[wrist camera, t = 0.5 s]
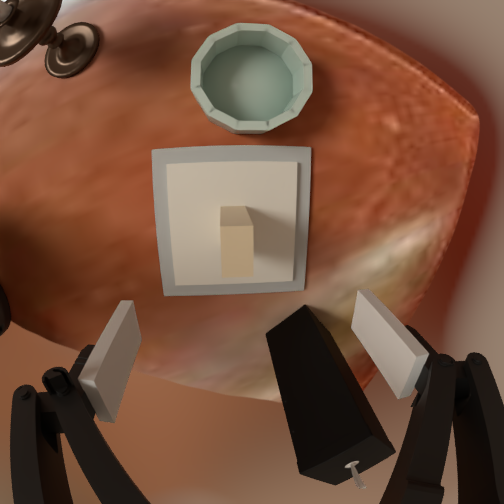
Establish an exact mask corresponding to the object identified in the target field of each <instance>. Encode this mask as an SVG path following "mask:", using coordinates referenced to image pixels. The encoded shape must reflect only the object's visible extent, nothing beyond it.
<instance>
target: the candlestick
mask: <svg viewBox="0 0 504 504" xmlns="http://www.w3.org/2000/svg"><path fill="white" fill-rule="evenodd" d="M61 4H62V0H7V1H6V2H3V1H1V0H0V67H6V66H9V65H12V64H14V63H16V62H18V61H19V60H20V59H22V58H23V57H25V56H26V55H27V54H28V53H29V52H30V51H31V50H32V49H33V48H34V47H35V46H36V45H37V44H38V43H39V44H40V45H42V46H44V45H48V49H47V52H46V55H45V67H46V70H47V71H48V73H49V74H50V75H52V76H54V77H57V78H68V77H71V76H74V75H76V74H78V73H79V72H80V71H82V70H83V69H84V68H85V67H86V66H87V65H88V64H89V63H90V62H91V60H92V59H93V57H94V56H95V54H96V52H97V49H98V46H99V34H98V31H97V30H96V29H95V27H93V26H92V25H91V24H89V23H86V22H79V23H74V24H72V25H69V26H68V27H66V28H64V29H63V30H62V31H60V32H59V33H57V31H56V28H55V27H54V26H52V24H53V22H54V21H55V19H56V17H57V15H58V12H59V10H60V8H61Z"/></svg>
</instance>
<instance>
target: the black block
mask: <svg viewBox="0 0 504 504" xmlns="http://www.w3.org/2000/svg"><path fill="white" fill-rule="evenodd" d="M266 338H267V342H268V346H269V350H270V354H271V358H272V362H273V366H274V370H275V374H276V378H277V382H278V386H279V390H280V394H281V398H282V402H283V406H284V410H285V414H286V418H287V422H288V426H289V430H290V434H291V438H292V442H293V446H294V450H295V454H296V457H297V465H298V469H299V473H300V474H301V475H304V476H307V477H310V478H313V479H316V480H319V481H323V482H326V483H329V484H332V485H338V484H340V483H342V482H344V481H346V480H348V479H350V478H352V477H353V478H354V481H355V484H356V486H357V487H359V488H363V489H366V488H367V487H366V486H365V484H364V483H363V481H362V479H361V478H360V476H359V474H360V473H362V472H363V471H365V470H367V469H369V468H371V467H372V466H374V465H376V464H378V463H379V462H381V461H383V460H384V459H386V458H388V457H389V456H391V455H392V454H394V453H395V452H396V451H395V449H394V447H393V445H392V443H391V442H390V441H389V439H388V437H387V436H386V433H385V432H384V430H383V428H382V426H381V424H380V422H379V420H378V418H377V417H376V415H375V413H374V411H373V409H372V407H371V405H370V404H369V402H368V400H367V398H366V396H365V394H364V393H363V391H362V389H361V387H360V385H359V383H358V382H357V380H356V378H355V376H354V374H353V373H352V371H351V369H350V367H349V365H348V364H347V362H346V360H345V358H344V356H343V355H342V353H341V351H340V349H339V348H338V346H337V344H336V342H335V341H334V339H333V337H332V335H331V334H330V332H329V331H328V330H327V329H326V328H325V326H324V325H323V324H322V323H321V322H320V321H319V320H318V319H317V317H316V316H315V315H314V314H313V313H312V312H311V311H310V309H309V308H308V307H307V306H306V305H304V306H302V307H301V308H299V309H298V310H297V311H296V312H294V313H293V314H292V315H290V316H289V317H288V318H286V319H285V320H284V321H282V322H281V323H280V324H278V325H277V326H275V327H274V328H273V329H271V330H270V331H269V332H267V333H266Z"/></svg>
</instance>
